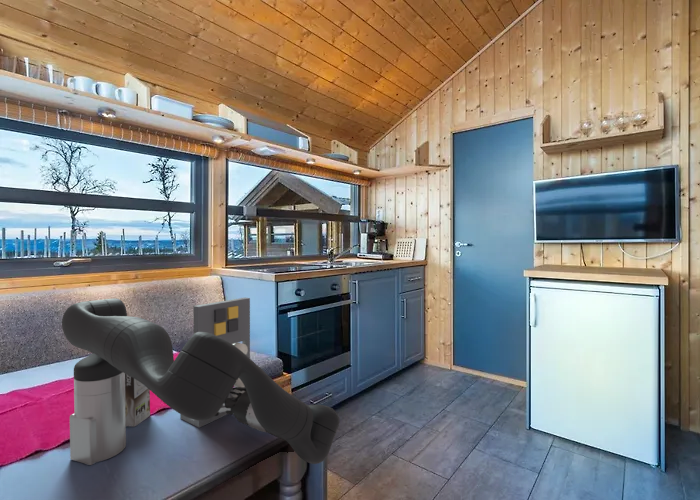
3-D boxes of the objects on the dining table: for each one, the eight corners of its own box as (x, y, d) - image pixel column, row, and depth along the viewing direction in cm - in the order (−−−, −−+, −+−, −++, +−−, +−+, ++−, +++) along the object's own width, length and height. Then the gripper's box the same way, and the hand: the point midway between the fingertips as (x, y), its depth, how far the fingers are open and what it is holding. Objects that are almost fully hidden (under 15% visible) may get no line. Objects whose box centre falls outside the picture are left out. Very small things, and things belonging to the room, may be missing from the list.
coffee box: (151, 415, 98) (150, 354, 97) (134, 427, 91) (134, 363, 91) (119, 413, 99) (118, 353, 98) (100, 425, 92) (99, 361, 92)
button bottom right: (251, 386, 102) (251, 372, 102) (240, 391, 99) (239, 376, 98) (242, 383, 104) (242, 369, 104) (230, 388, 101) (230, 373, 101)
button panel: (251, 404, 104) (251, 298, 103) (200, 428, 91) (199, 307, 90) (231, 396, 109) (231, 295, 108) (180, 418, 96) (179, 303, 95)
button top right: (247, 356, 102) (247, 342, 102) (235, 360, 99) (235, 345, 99) (238, 354, 105) (238, 340, 105) (226, 357, 101) (226, 343, 101)
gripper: (281, 384, 89) (234, 369, 99) (236, 405, 78) (188, 385, 88) (281, 415, 89) (234, 397, 99) (236, 440, 79) (189, 416, 88)
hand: (213, 391), depth 94 cm, fingers closed
